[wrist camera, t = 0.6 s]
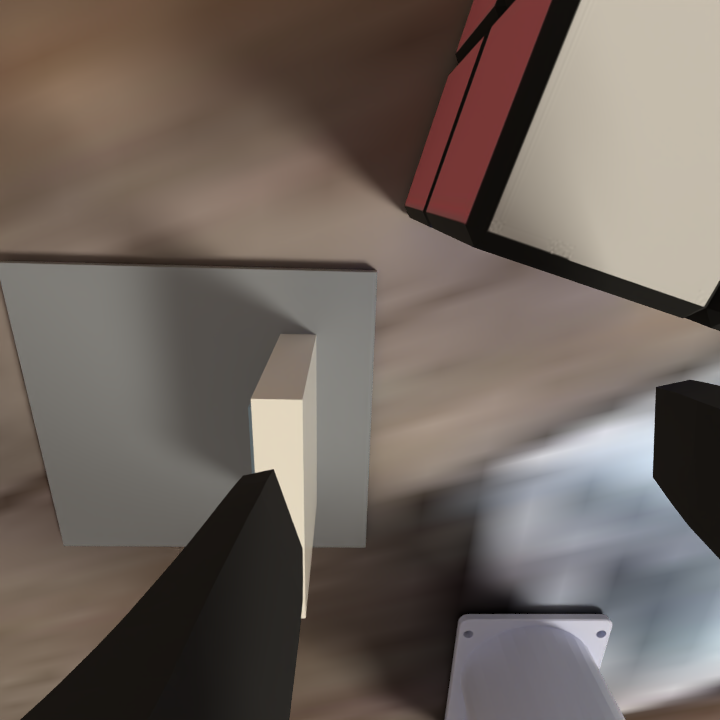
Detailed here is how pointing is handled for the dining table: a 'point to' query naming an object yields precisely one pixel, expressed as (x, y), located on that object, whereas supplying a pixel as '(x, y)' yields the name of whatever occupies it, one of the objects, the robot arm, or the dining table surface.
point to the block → (289, 433)
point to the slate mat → (184, 389)
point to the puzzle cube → (585, 146)
